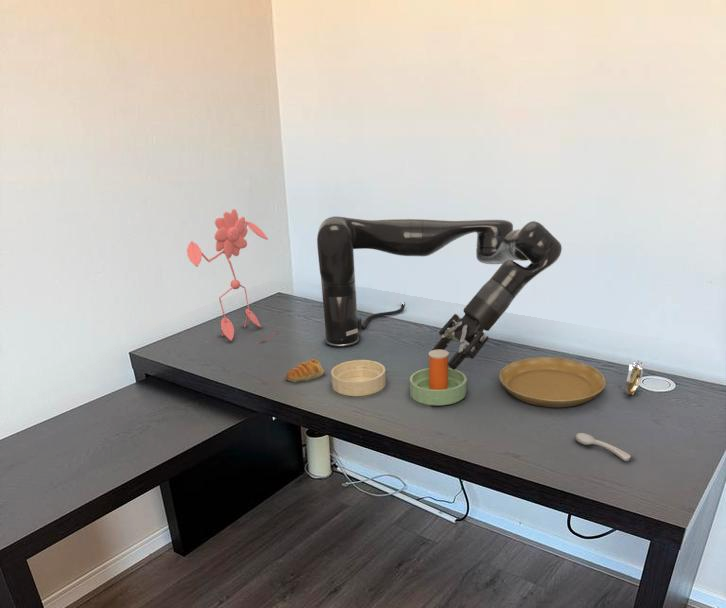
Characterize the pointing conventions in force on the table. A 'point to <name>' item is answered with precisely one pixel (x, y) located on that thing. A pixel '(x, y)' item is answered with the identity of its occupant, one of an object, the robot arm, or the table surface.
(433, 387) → the cracker tube
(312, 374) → the pastry
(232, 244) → the figurine
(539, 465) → the table surface
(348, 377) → the oatmeal bowl
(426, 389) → the sage bowl
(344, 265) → the robot arm
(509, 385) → the plant saucer
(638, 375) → the ring
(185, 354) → the table surface
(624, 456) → the spoon
